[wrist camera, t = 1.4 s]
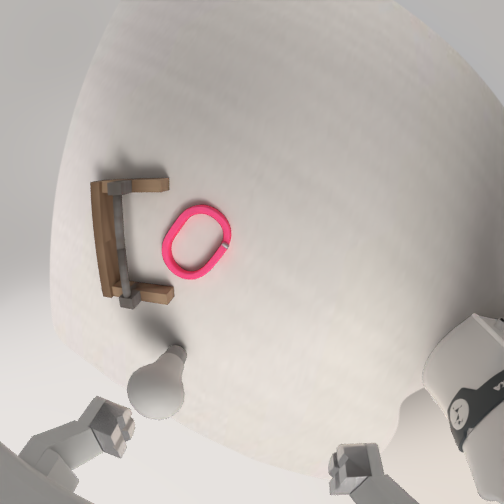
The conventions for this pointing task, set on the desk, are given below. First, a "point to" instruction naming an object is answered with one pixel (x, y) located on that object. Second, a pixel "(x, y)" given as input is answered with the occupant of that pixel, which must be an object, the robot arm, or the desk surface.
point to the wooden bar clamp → (121, 241)
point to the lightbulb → (159, 385)
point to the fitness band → (176, 228)
